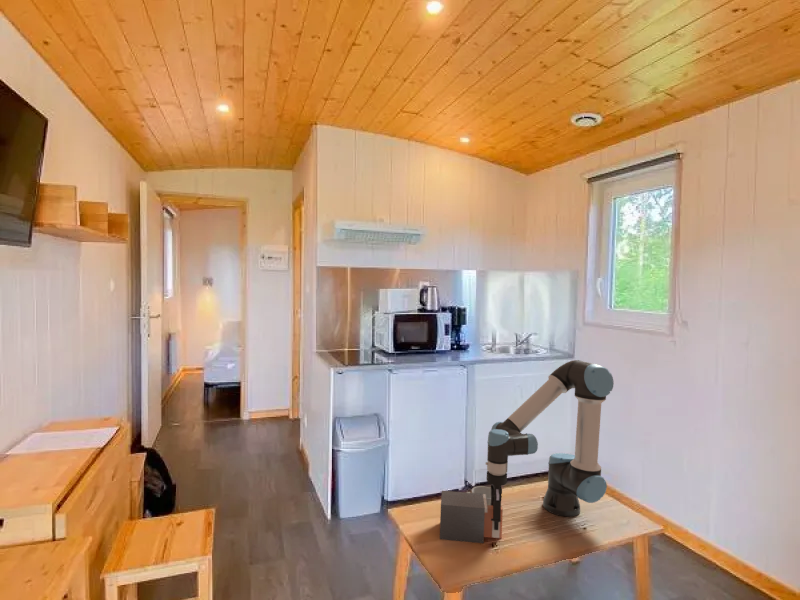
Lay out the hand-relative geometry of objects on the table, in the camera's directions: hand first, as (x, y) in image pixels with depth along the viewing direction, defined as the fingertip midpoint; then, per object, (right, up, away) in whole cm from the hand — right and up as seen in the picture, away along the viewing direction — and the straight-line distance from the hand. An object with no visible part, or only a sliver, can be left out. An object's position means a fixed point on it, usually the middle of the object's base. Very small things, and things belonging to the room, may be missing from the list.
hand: (494, 532), depth 175 cm
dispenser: (-12, -1, +2) cm, 13 cm away
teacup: (-2, -1, +20) cm, 21 cm away
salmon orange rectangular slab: (-4, -1, 0) cm, 4 cm away
